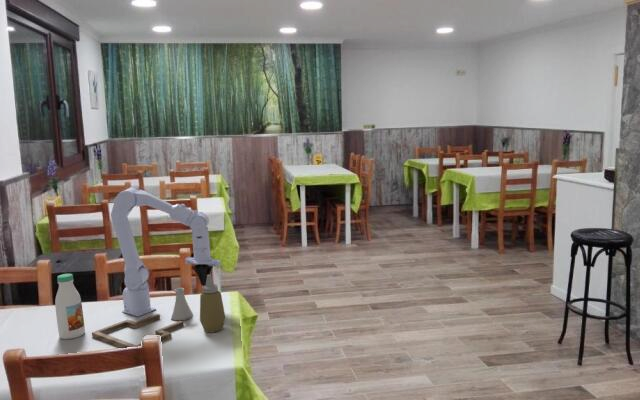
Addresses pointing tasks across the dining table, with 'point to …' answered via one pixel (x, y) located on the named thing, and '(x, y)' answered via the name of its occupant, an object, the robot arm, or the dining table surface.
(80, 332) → the milk bottle
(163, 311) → the dining table surface
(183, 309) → the flask
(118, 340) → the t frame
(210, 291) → the squeeze bottle
